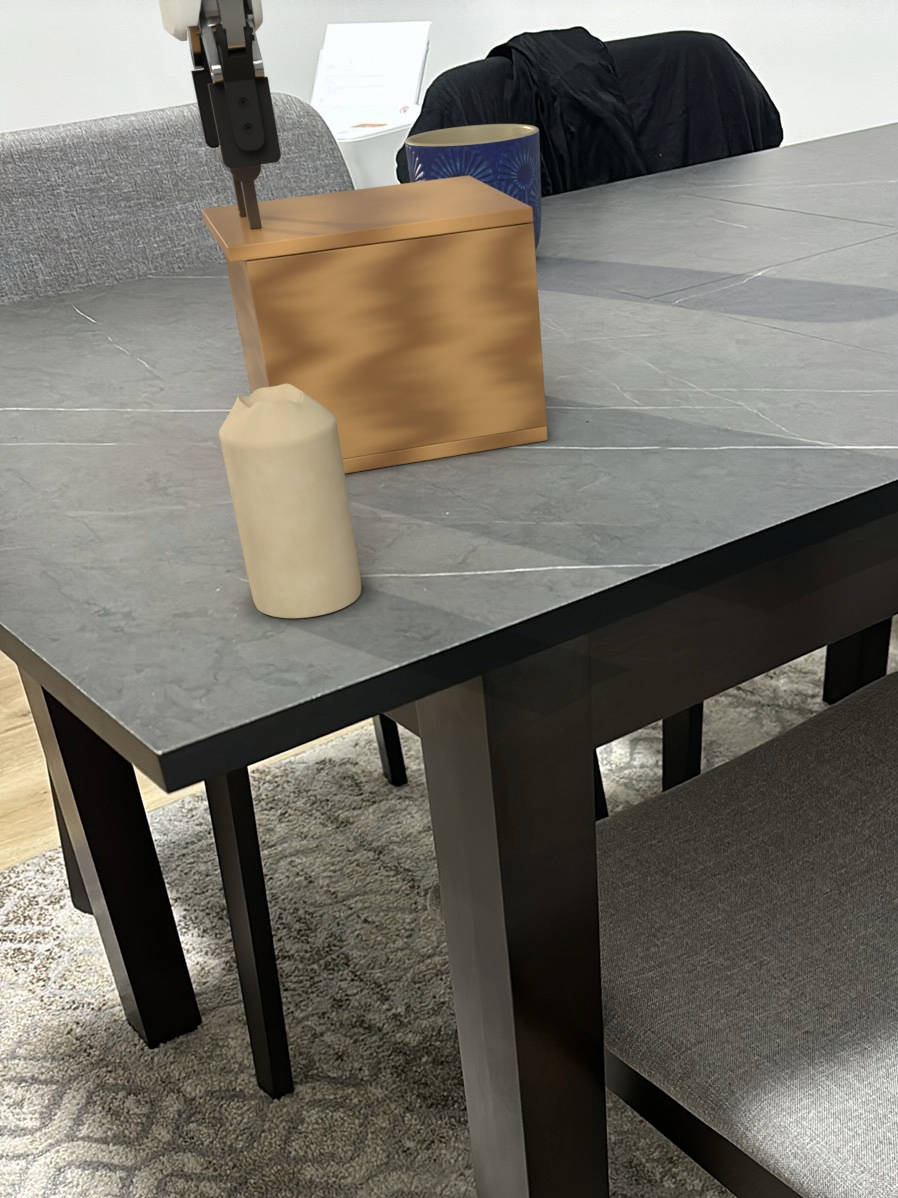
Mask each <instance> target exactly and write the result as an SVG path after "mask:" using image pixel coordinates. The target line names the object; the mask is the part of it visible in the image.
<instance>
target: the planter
mask: <svg viewBox="0 0 898 1198" xmlns="http://www.w3.org/2000/svg"><path fill="white" fill-rule="evenodd" d="M404 146H405V153H406V161H407V168H408V173H409V174H408V176H409V183H413V182H421V181H429V180H437V179H445V178H453V177H461V176H471V177H473V178H475V179H477V180H479V181H481V182H483V183H485V184H487V185H489V186H491V187H493V188H495V189H497V190H499V191H501V192H503V193H505V194H507V195H509V196H511V197H513V198H515V199H517V200H519V201H521V202H523V203H525V204H527V205H529V206H531V207H532V210H533V222H531V223H533V224H534V239H535V252H536V251H537V248H538V247H539V243H540V239H541V230H542V229H541V228H542V178H541V174H542V173H541V151H540V149H541V148H540V147H541V146H540V129H539V128H538V127H537V126H535V125H530V124H521V123H520V124H519V123H493V124H492V123H491V124H477V125H476V124H475V125H466V126H465V125H464V126H457V127H449V128H447V127H446V128H442V129H441V128H440V129H434V130H430V131H425V132H420V133H417V134H414V135H411V136H409V137H407V138H405V140H404Z"/></svg>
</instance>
